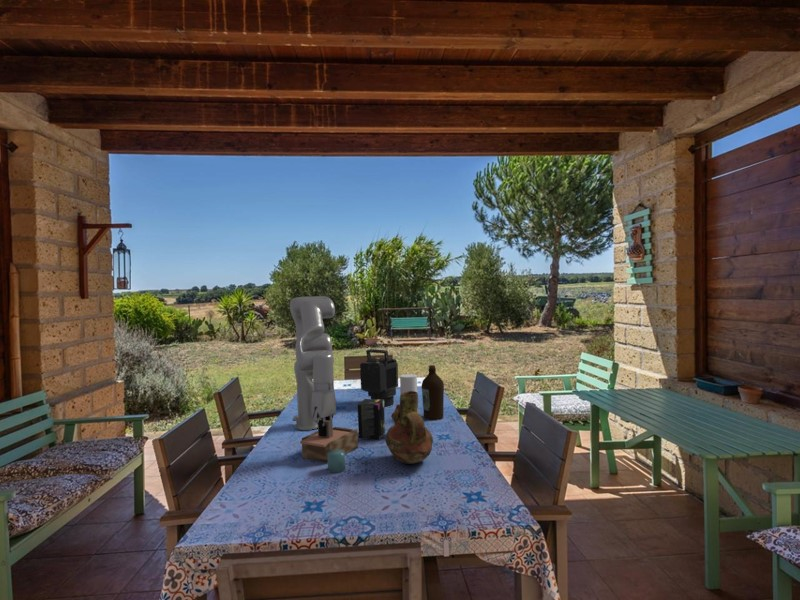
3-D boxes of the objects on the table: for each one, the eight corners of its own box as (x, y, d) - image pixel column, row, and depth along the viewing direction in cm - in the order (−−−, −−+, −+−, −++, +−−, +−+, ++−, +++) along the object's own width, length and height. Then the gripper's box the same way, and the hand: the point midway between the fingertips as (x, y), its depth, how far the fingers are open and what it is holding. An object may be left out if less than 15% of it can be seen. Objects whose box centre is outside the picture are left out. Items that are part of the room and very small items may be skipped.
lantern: (401, 402, 253) (399, 347, 252) (383, 410, 238) (381, 352, 237) (379, 399, 261) (377, 346, 260) (359, 407, 246) (357, 350, 245)
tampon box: (379, 440, 191) (378, 404, 190) (358, 439, 193) (356, 404, 192) (385, 432, 201) (384, 398, 201) (365, 431, 203) (364, 398, 203)
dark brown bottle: (438, 413, 229) (436, 363, 228) (448, 418, 219) (447, 366, 219) (418, 416, 225) (417, 365, 224) (428, 421, 215) (427, 368, 214)
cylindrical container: (406, 437, 193) (404, 377, 192) (398, 433, 199) (397, 375, 199) (421, 434, 196) (419, 376, 196) (413, 430, 202) (411, 373, 202)
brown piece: (326, 430, 185) (326, 413, 184) (349, 434, 179) (349, 416, 179) (300, 443, 170) (299, 425, 170) (324, 447, 165) (323, 428, 165)
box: (331, 443, 189) (330, 425, 188) (357, 447, 183) (357, 428, 182) (302, 458, 173) (301, 438, 173) (330, 463, 167) (329, 442, 167)
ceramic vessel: (415, 445, 183) (413, 382, 182) (447, 467, 159) (445, 395, 159) (374, 452, 176) (372, 387, 176) (401, 477, 152) (399, 401, 152)
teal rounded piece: (324, 471, 159) (323, 454, 159) (334, 465, 165) (334, 448, 164) (338, 474, 157) (338, 456, 156) (348, 467, 162) (348, 450, 162)
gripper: (328, 381, 183) (329, 427, 184) (302, 389, 169) (303, 439, 169) (344, 382, 180) (345, 429, 180) (318, 391, 166) (320, 442, 166)
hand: (325, 434), depth 175 cm, fingers closed on brown piece, 2 cm apart
